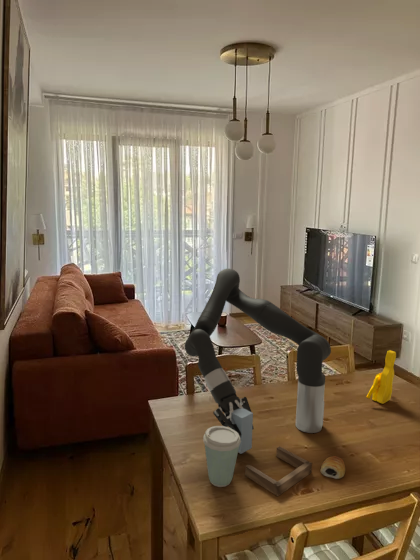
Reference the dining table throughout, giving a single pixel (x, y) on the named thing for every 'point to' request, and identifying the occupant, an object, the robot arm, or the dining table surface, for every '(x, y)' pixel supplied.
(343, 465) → the pastry
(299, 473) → the walnut bay
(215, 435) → the disposable coffee cup
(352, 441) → the dining table surface
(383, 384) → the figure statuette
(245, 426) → the slate block
